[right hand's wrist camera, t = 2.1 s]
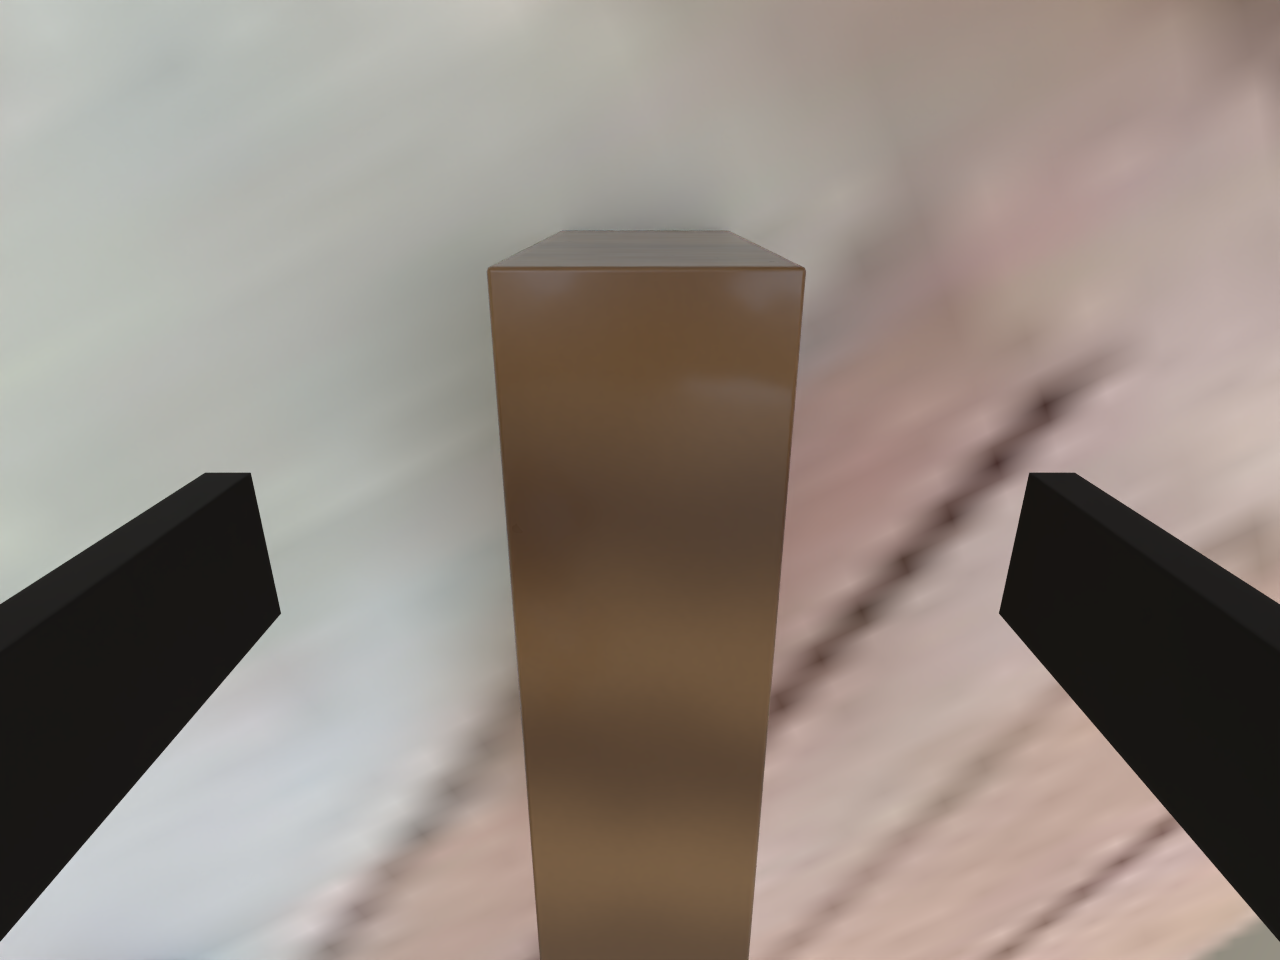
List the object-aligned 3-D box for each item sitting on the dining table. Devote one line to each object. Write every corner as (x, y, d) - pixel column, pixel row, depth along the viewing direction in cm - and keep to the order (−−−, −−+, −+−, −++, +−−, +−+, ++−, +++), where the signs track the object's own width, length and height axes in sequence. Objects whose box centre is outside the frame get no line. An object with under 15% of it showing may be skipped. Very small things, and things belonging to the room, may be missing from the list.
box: (559, 230, 25) (485, 266, 13) (730, 230, 25) (807, 266, 13) (580, 754, 34) (546, 1054, 22) (707, 754, 34) (741, 1055, 22)
